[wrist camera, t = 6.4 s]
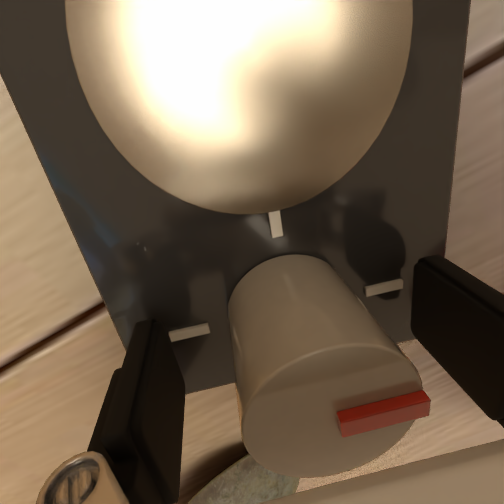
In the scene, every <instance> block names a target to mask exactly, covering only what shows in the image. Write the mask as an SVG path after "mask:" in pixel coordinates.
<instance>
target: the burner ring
mask: <svg viewBox="0 0 504 504" xmlns="http://www.w3.org/2000/svg"><path fill="white" fill-rule="evenodd" d="M65 15H66V29H67V34H68V40H69V45H70V51H71V56H72V60H73V63H74V66H75V70H76V73H77V76H78V80H79V83H80V85H81V88H82V90H83V92H84V95H85V97H86V99H87V102H88V104H89V106H90V108H91V110H92V112H93V114H94V115H95V117H96V119H97V121H98V122H99V124H100V126H101V128H102V130H103V131H104V132H105V134H106V135H107V136H108V138H109V139H110V141H111V142H112V143H113V145H114V146H115V148H116V149H117V150H118V151H119V152H120V153H121V154H122V156H123V157H124V158H125V159H126V160H127V161H128V162H129V163H130V164H131V165H132V166H133V167H134V168H135V169H136V170H137V171H138V172H139V173H141V174H142V175H143V176H144V177H145V178H146V179H148V180H149V181H150V182H152V183H153V184H155V185H156V186H157V187H159V188H160V189H162V190H163V191H165V192H166V193H168V194H170V195H172V196H174V197H176V198H178V199H180V200H182V201H184V202H186V203H189V204H192V205H194V206H197V207H200V208H203V209H207V210H211V211H215V212H220V213H228V214H237V215H246V214H262V213H269V212H275V211H279V210H282V209H286V208H289V207H293V206H295V205H298V204H300V203H302V202H305V201H307V200H309V199H311V198H313V197H315V196H316V195H318V194H320V193H322V192H323V191H325V190H327V189H328V188H329V187H331V186H332V185H333V184H335V183H336V182H337V181H339V180H340V179H341V178H342V177H343V176H345V175H346V174H347V173H348V172H349V171H350V170H351V169H352V168H353V167H354V166H355V165H356V164H357V163H358V162H359V161H360V159H361V158H362V157H363V156H364V155H365V154H366V152H367V151H368V150H369V148H370V147H371V146H372V144H373V143H374V141H375V140H376V138H377V137H378V135H379V134H380V132H381V130H382V129H383V127H384V125H385V123H386V121H387V119H388V118H389V116H390V114H391V111H392V109H393V107H394V104H395V102H396V99H397V97H398V95H399V92H400V88H401V85H402V82H403V79H404V75H405V72H406V67H407V62H408V57H409V52H410V47H411V36H412V25H413V0H65Z"/></svg>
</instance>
